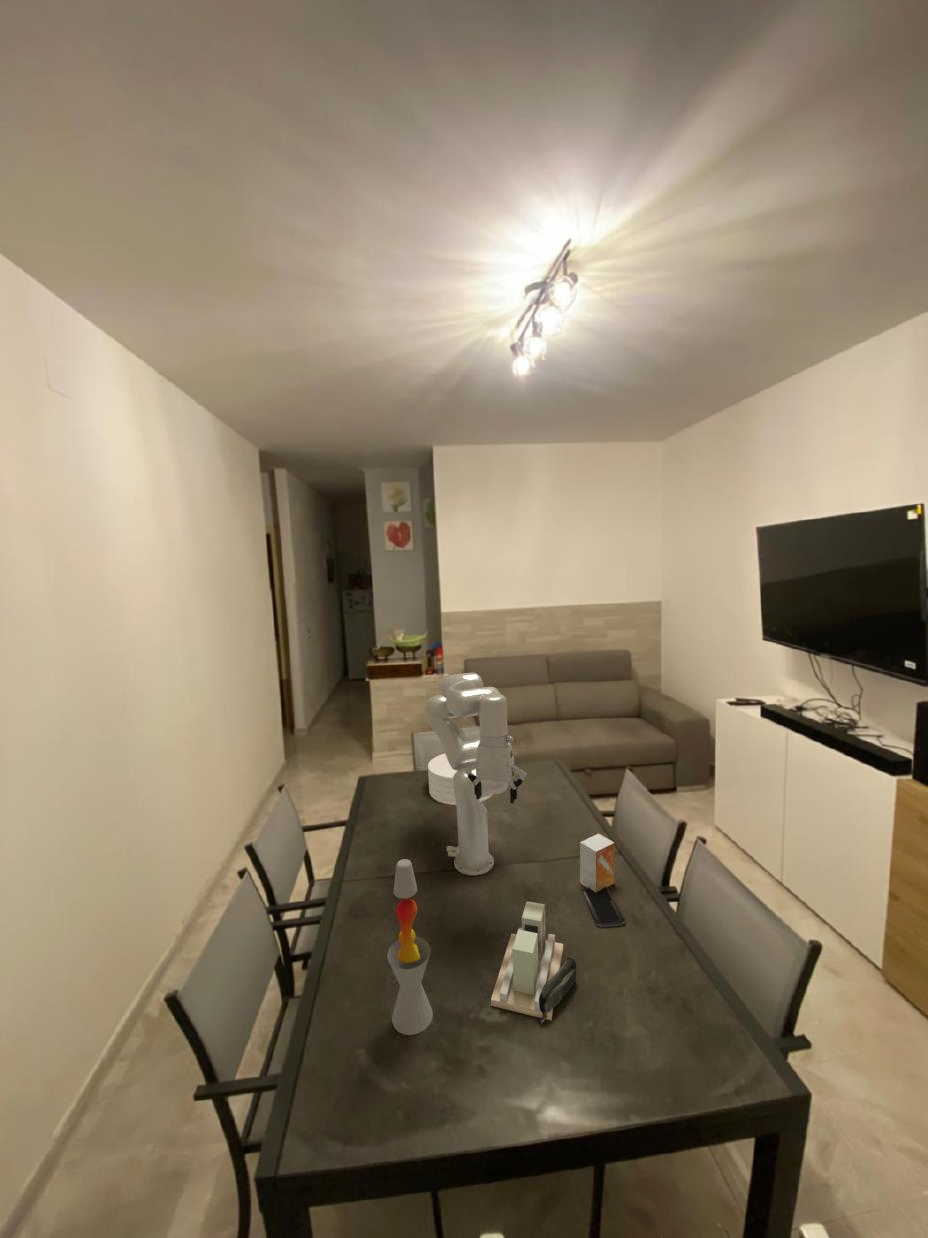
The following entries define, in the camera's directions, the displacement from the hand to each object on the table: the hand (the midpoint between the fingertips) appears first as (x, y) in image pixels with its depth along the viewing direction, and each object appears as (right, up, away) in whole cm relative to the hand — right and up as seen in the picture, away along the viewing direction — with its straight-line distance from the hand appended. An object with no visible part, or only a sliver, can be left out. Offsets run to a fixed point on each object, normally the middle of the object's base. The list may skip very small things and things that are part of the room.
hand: (495, 799), depth 139 cm
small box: (+31, -29, +10) cm, 43 cm away
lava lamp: (-20, -35, -31) cm, 51 cm away
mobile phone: (+11, -34, -29) cm, 45 cm away
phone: (+29, -30, 0) cm, 42 cm away
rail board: (+6, -33, -22) cm, 40 cm away
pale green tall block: (+5, -32, -26) cm, 41 cm away
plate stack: (-9, -23, +74) cm, 78 cm away
